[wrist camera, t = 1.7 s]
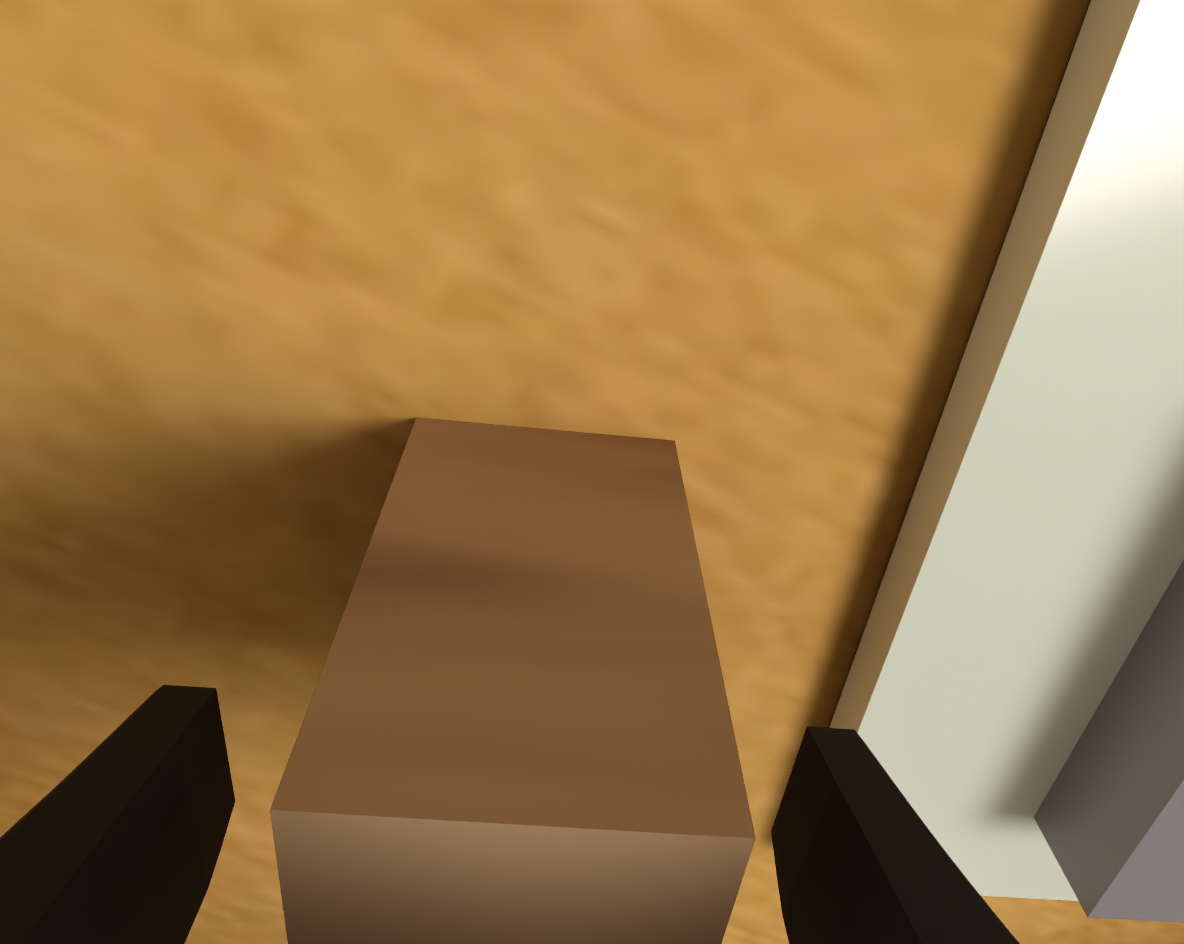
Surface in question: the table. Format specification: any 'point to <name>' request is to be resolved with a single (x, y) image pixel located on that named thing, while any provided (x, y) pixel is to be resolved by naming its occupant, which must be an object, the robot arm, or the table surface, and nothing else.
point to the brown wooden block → (519, 710)
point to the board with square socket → (1057, 520)
